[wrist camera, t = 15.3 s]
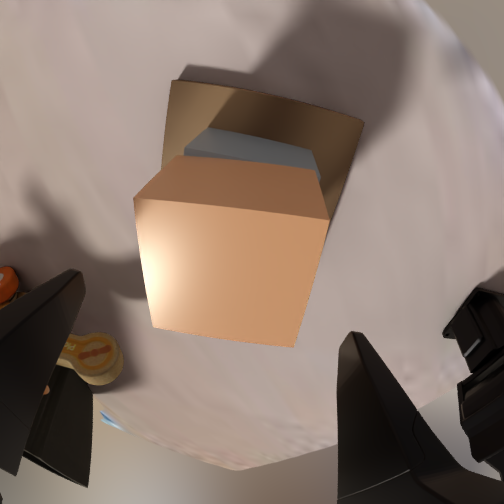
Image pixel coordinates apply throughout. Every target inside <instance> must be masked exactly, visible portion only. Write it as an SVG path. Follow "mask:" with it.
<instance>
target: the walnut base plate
mask: <svg viewBox="0 0 504 504" xmlns="http://www.w3.org/2000/svg"><path fill="white" fill-rule="evenodd" d="M363 126H364V122H363V121H361V120H360V119H357V118H354V117H351V116H348V115H345V114H342V113H338V112H335V111H332V110H329V109H325V108H322V107H318V106H315V105H311V104H307V103H304V102H300V101H296V100H292V99H288V98H284V97H280V96H275V95H271V94H266V93H261V92H257V91H252V90H246V89H241V88H235V87H230V86H223V85H217V84H210V83H203V82H195V81H187V80H172V82H171V88H170V95H169V102H168V110H167V117H166V126H165V135H164V144H163V154H162V166H161V170H162V169H163V168H164V167H165V166H166V165H167V164H168V163H169V162H170V161H171V160H172V159H173V158H174V157H175V156H176V155H182V156H183V155H184V147H186V146H187V145H188V144H189V143H190V142H191V141H192V140H193V139H195V138H196V137H197V136H198V135H199V134H200V133H201V132H203V131H204V130H205V129H206V128H207V127H209V128H215V129H220V130H226V131H231V132H236V133H241V134H246V135H251V136H255V137H260V138H264V139H269V140H273V141H277V142H281V143H285V144H290V145H293V146H297V147H301V148H305V149H309V150H312V153H313V156H314V159H315V162H316V165H317V167H318V170H319V173H320V176H321V179H320V182H319V185H320V188H321V191H322V195H323V198H324V202H325V205H326V209H327V212H328V216H329V219H330V221H331V218H332V215H333V213H334V210H335V207H336V205H337V202H338V199H339V196H340V194H341V191H342V188H343V185H344V182H345V180H346V177H347V174H348V171H349V168H350V165H351V162H352V159H353V156H354V153H355V150H356V147H357V144H358V141H359V138H360V135H361V132H362V129H363ZM329 223H330V222H329Z"/></svg>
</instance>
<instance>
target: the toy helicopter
mask: <svg viewBox="0 0 504 504" xmlns="http://www.w3.org/2000/svg"><path fill="white" fill-rule="evenodd" d="M18 285H19V281H18V278H17V276H16V274H15V272H14V270H13V269H12V268H11V267H2V268H0V309H1V308H3V307H5V306H6V305H8V304H9V303H11V302H13V301H14V300H16V299H18V298H20V297H21V296H23V295H25V294H26V293H25V292H16V291H17V289H18ZM123 364H124V358H123V354H122V352H121V349H120V347H119V345H118V343H117V341H116V340H115V339H114V338H113V337H112V336H111V335H109V334H107V333H102V332H95V333H90V334H87V335H84V336H77V335H74V334H71V333H70V335H69V337H68V339H67V341H66V343H65V345H64V348H63V350H62V352H61V354H60V356H59V358H58V361H57V363H56V365H60V366H64V367H68V368H71V369H74V370H75V371H76V372H77V373H78V375H79V376H80V377H81V378H82V379H83V380H84V381H86V382H87V383H89V384H92V385H105V384H108V383H110V382H112V381H113V380H115V379H116V378H117V377H118V376H119V374H120V373H121V371H122V368H123ZM49 391H50V390H49V387H48V385H47V386H46V389H45V391H44V394H48V393H49ZM44 394H43V395H44Z"/></svg>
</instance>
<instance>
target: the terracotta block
mask: <svg viewBox="0 0 504 504" xmlns="http://www.w3.org/2000/svg"><path fill="white" fill-rule="evenodd" d="M133 200H134V210H135V219H136V227H137V235H138V243H139V250H140V257H141V263H142V270H143V276H144V282H145V287H146V293H147V298H148V304H149V309H150V314H151V319H152V324H153V327H155V328H160V329H166V330H171V331H177V332H182V333H188V334H194V335H200V336H206V337H213V338H219V339H226V340H233V341H241V342H248V343H256V344H265V345H274V346H284V347H294V344H295V341H296V338H297V335H298V332H299V329H300V325H301V322H302V319H303V316H304V312H305V309H306V306H307V302H308V299H309V296H310V292H311V289H312V285H313V282H314V278H315V275H316V271H317V267H318V264H319V260H320V256H321V253H322V249H323V245H324V241H325V237H326V234H327V230H328V226H329V222H330V219H329V216H328V212H327V209H326V205H325V202H324V198H323V195H322V191H321V188H320V185H319V181H318V178H317V175H316V172H315V170H311V169H305V168H298V167H291V166H284V165H276V164H268V163H260V162H251V161H242V160H232V159H222V158H210V157H197V156H182V155H176V156H175V157H174V158H173V159H172V160H171V161H170V162H169V163H168V164H167V165H166V166H165V167H164V168H163V169H162V170H161V171H160V172H159V173H158V174H156V175H155V176H154V177H153V178H152V179H151V180H150V181H149V182H148V183H147V184H146V185H145V186H144V187H143V188H142V189H141V191H140V192H139V193H138V194H137V195H136V196H135V197H134V198H133Z"/></svg>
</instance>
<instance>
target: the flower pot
mask: <svg viewBox="0 0 504 504" xmlns="http://www.w3.org/2000/svg"><path fill="white" fill-rule="evenodd" d="M47 385H48V387H49V390H50V391H49V393H48V394H44V395H43V396H42V399H41V401H40V404H39V407H38V409H37V412H36V415H35V418H34V420H33V423H32V426H31V429H30V432H29V435H28V438H27V442H26V445H25V448H24V451H23V455H22V456H23V457H25V458H27V459H28V460H30V461H32V462H34V463H35V464H37V465H39V466H41V467H43V468H45V469H47V470H49V471H50V472H52V473H55V474H57V475H59V476H61V477H63V478H65V479H67V480H70V481H72V482H74V483H76V484H79V485H82V486H84V487H86V488H88V482H89V474H90V463H91V449H92V429H93V394H92V392H91V391H90V389H89V387H88V385H87V384H86V382H85V381H84V380H83V379H82V378H81V377H80V376H79V375H78V373H77V372H76V371H75V370H74V369H71V368H68V367H64V366H60V365H55V367H54V370H53V372H52V374H51V377H50V379H49V382H48V384H47Z"/></svg>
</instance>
